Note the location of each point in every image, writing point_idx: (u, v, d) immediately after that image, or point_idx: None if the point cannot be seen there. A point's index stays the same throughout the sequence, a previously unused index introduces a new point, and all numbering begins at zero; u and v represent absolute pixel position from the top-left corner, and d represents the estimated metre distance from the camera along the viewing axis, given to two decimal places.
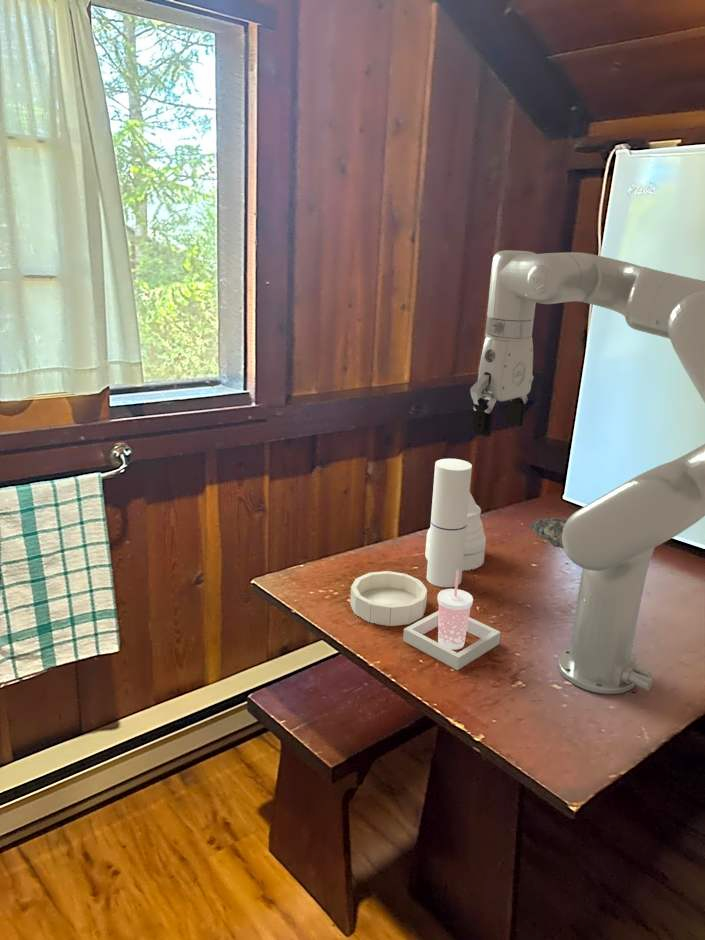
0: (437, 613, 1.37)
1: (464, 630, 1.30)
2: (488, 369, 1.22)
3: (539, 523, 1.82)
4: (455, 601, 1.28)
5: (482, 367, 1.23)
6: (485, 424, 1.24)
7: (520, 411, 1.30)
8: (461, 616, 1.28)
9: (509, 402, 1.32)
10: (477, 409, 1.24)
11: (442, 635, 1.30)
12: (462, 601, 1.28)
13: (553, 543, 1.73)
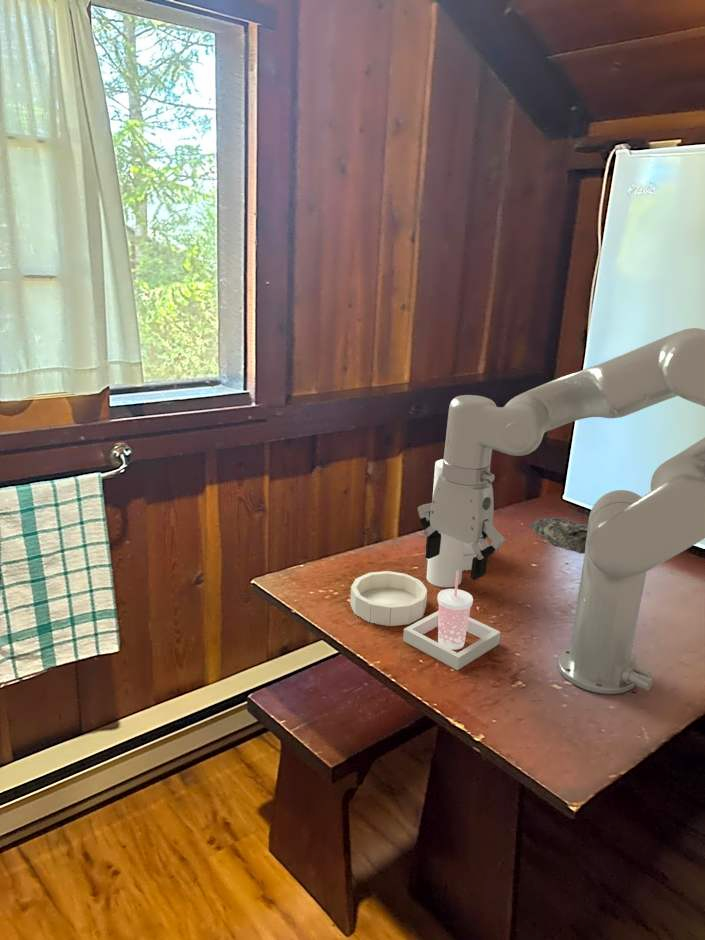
0: (437, 613, 1.37)
1: (464, 630, 1.30)
2: (486, 516, 1.21)
3: (539, 522, 1.82)
4: (455, 601, 1.28)
5: (481, 517, 1.20)
6: None
7: (440, 541, 1.31)
8: (461, 616, 1.28)
9: (431, 539, 1.29)
10: (485, 556, 1.22)
11: (442, 635, 1.30)
12: (462, 601, 1.28)
13: (552, 542, 1.74)
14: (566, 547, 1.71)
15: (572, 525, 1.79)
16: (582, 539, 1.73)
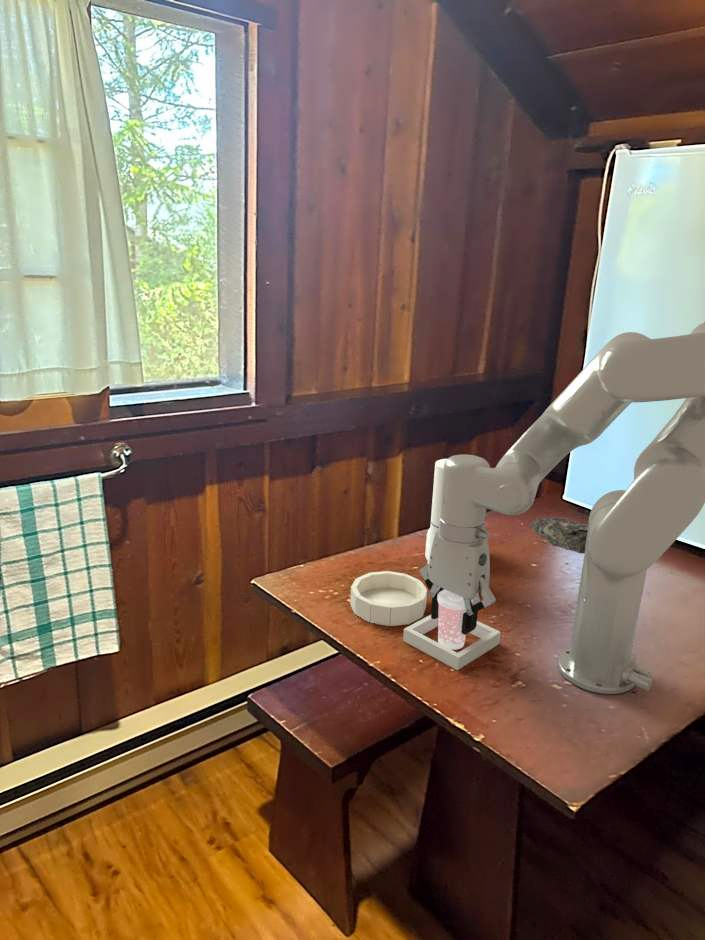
0: None
1: None
2: (482, 572, 1.24)
3: (539, 522, 1.82)
4: (455, 601, 1.28)
5: (477, 573, 1.23)
6: None
7: None
8: (461, 616, 1.28)
9: (436, 600, 1.31)
10: (475, 612, 1.26)
11: (442, 635, 1.30)
12: (461, 601, 1.28)
13: (552, 542, 1.74)
14: (565, 547, 1.72)
15: (572, 525, 1.79)
16: (581, 539, 1.73)
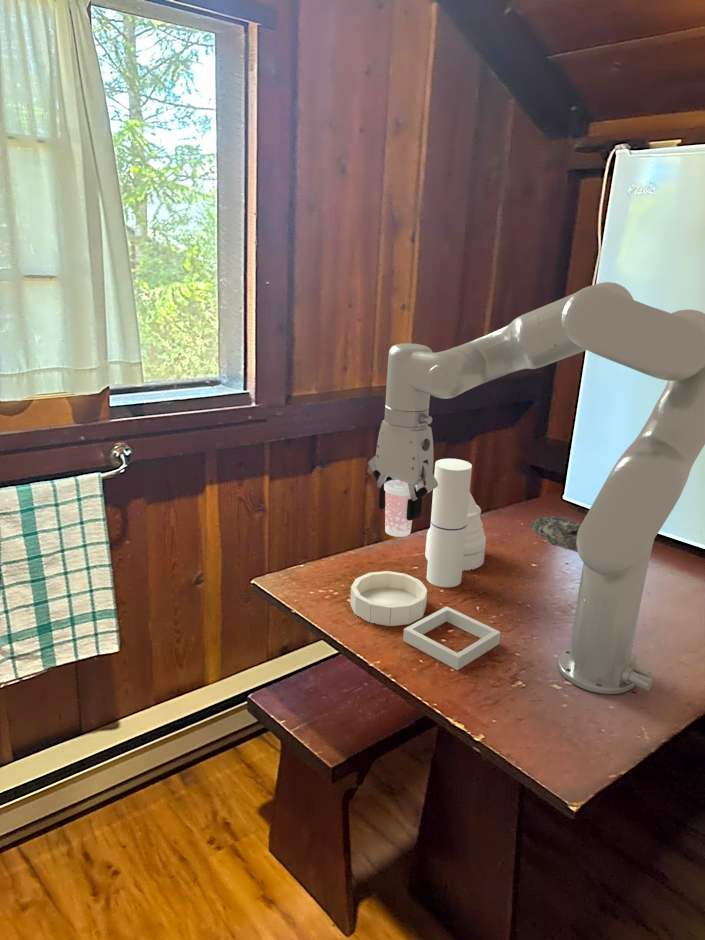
0: (437, 613, 1.37)
1: None
2: (426, 457, 1.29)
3: (539, 521, 1.83)
4: (401, 488, 1.33)
5: (421, 457, 1.28)
6: None
7: None
8: (406, 502, 1.33)
9: (383, 489, 1.36)
10: (419, 498, 1.31)
11: (389, 522, 1.35)
12: (407, 489, 1.33)
13: (551, 541, 1.74)
14: (564, 546, 1.72)
15: (572, 524, 1.79)
16: None
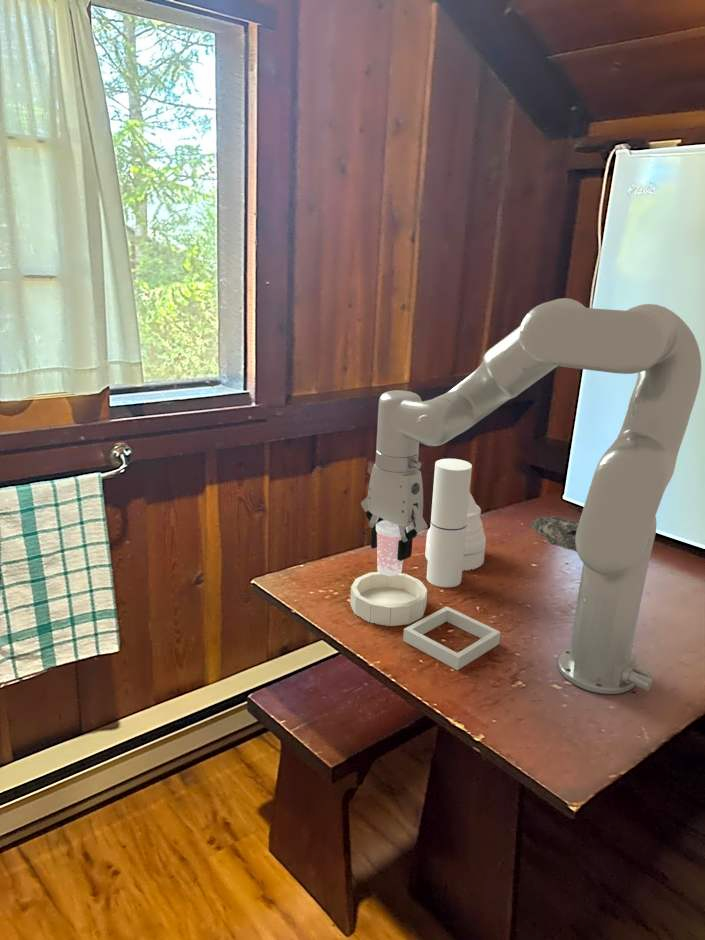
0: (437, 613, 1.37)
1: None
2: (415, 500, 1.33)
3: (539, 521, 1.83)
4: (391, 529, 1.37)
5: (410, 501, 1.32)
6: None
7: None
8: (397, 543, 1.37)
9: (375, 530, 1.40)
10: (409, 539, 1.35)
11: (380, 562, 1.39)
12: (397, 530, 1.37)
13: (551, 541, 1.74)
14: (564, 546, 1.72)
15: (572, 524, 1.80)
16: None
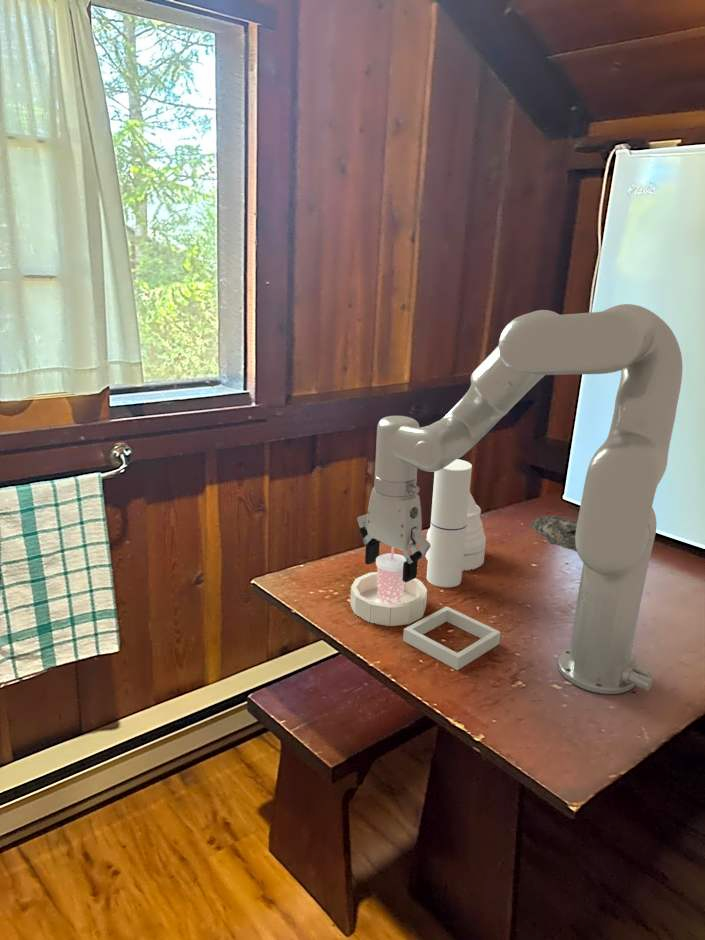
0: (437, 613, 1.37)
1: (400, 591, 1.41)
2: (414, 524, 1.34)
3: (539, 520, 1.83)
4: (391, 564, 1.39)
5: (409, 525, 1.34)
6: None
7: (378, 548, 1.44)
8: (397, 577, 1.39)
9: (369, 546, 1.42)
10: (415, 561, 1.35)
11: (380, 595, 1.41)
12: (397, 564, 1.39)
13: (550, 540, 1.75)
14: (563, 545, 1.72)
15: (572, 524, 1.80)
16: None
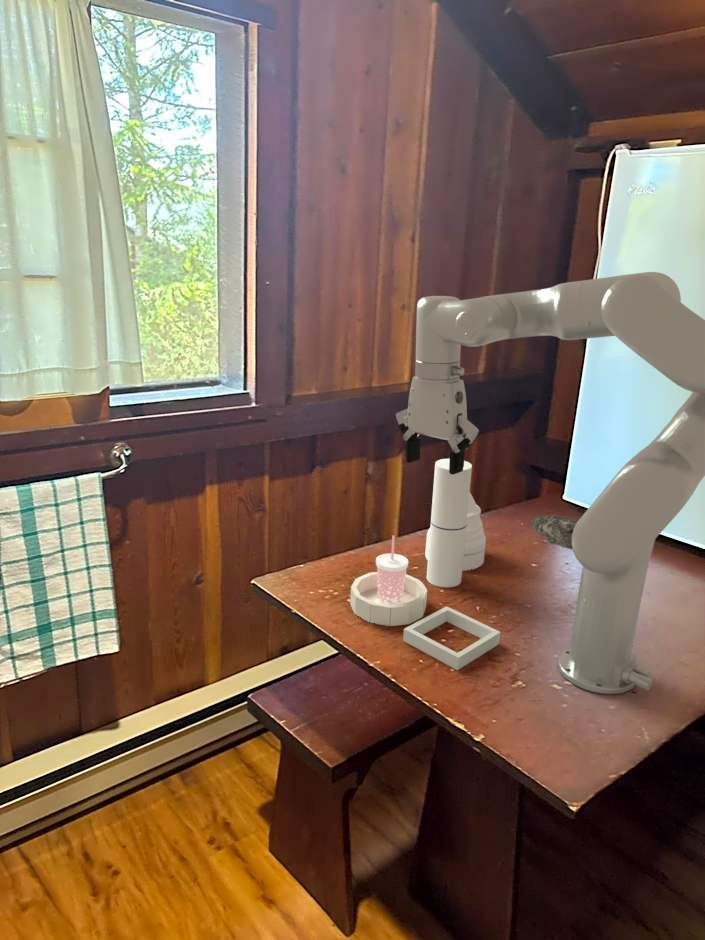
0: (437, 613, 1.37)
1: (400, 591, 1.41)
2: (459, 410, 1.27)
3: (539, 520, 1.83)
4: (391, 564, 1.39)
5: (454, 410, 1.26)
6: None
7: (419, 445, 1.36)
8: (397, 577, 1.39)
9: (410, 442, 1.34)
10: (462, 450, 1.27)
11: (380, 595, 1.41)
12: (397, 564, 1.39)
13: (550, 540, 1.75)
14: (562, 544, 1.73)
15: (572, 523, 1.80)
16: None
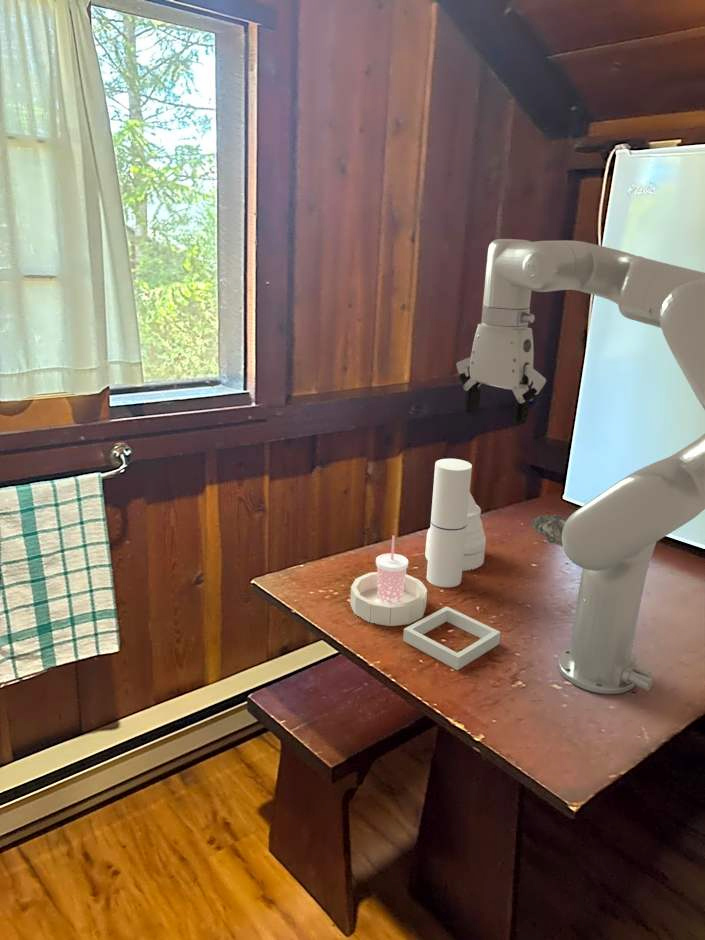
0: (437, 613, 1.37)
1: (400, 591, 1.41)
2: (527, 359, 1.22)
3: (540, 519, 1.84)
4: (391, 564, 1.39)
5: (522, 359, 1.22)
6: None
7: (479, 397, 1.32)
8: (397, 577, 1.39)
9: (471, 392, 1.30)
10: (527, 400, 1.23)
11: (380, 595, 1.41)
12: (397, 564, 1.39)
13: (549, 539, 1.75)
14: None
15: None
16: None
